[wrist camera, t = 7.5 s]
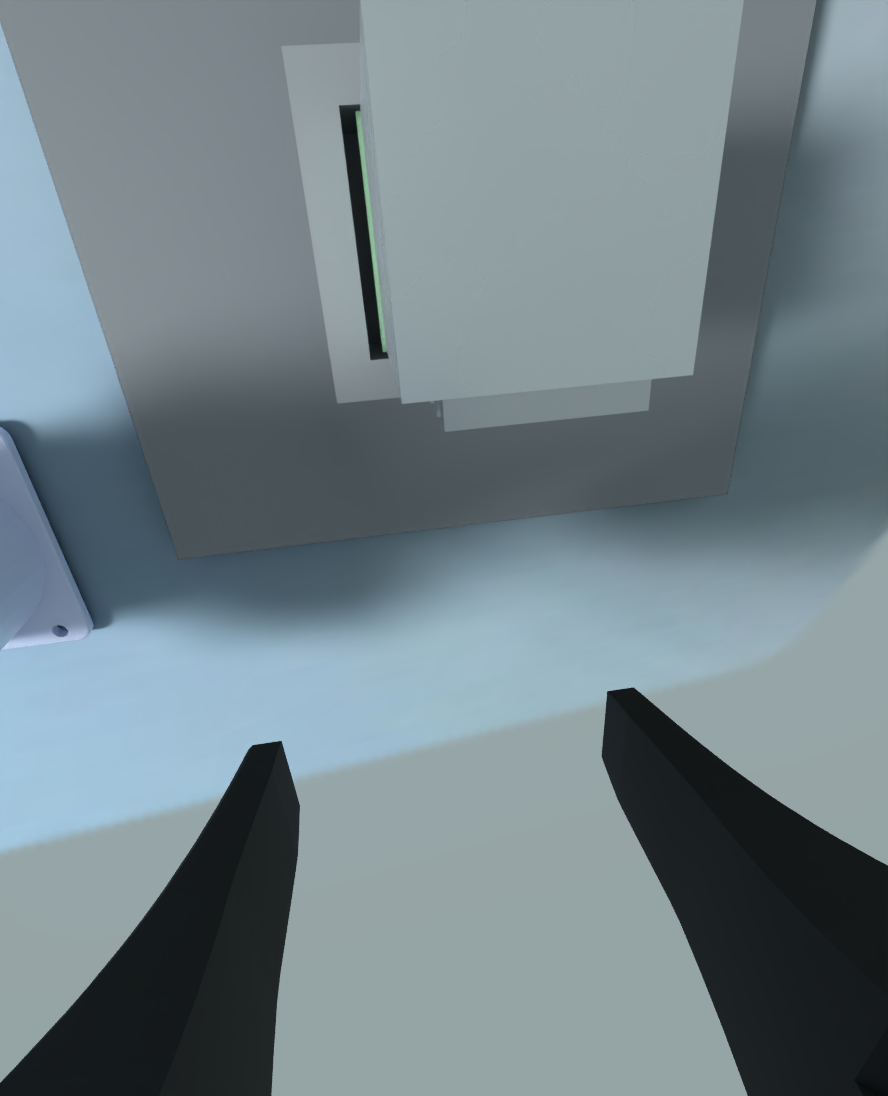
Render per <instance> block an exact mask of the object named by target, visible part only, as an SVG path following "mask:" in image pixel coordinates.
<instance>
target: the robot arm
mask: <svg viewBox="0 0 888 1096" xmlns="http://www.w3.org/2000/svg"><path fill="white" fill-rule="evenodd" d="M57 625H61V626H64V627H65V628H66V629H67V630H68V631H64V630H62V629H60V628H59V627H58V626H57ZM92 629H93V622H92V619H91V617H90V615H89V613H88V610H87V608H86V606H85V603H84V601H83V599H82V597H81V594H80V592H79V590H78V587H77V585H76V583H75V581H74V578H73V576H72V574H71V572H70V569H69V567H68V565H67V562H66V560H65V558H64V556H63V553H62V551H61V549H60V546H59V544H58V542H57V540H56V537H55V535H54V533H53V531H52V528H51V526H50V524H49V521H48V519H47V517H46V515H45V512H44V510H43V508H42V505H41V503H40V501H39V499H38V496H37V494H36V492H35V490H34V487H33V485H32V483H31V480H30V478H29V476H28V474H27V471H26V469H25V467H24V465H23V462H22V460H21V458H20V455H19V453H18V451H17V449H16V446H15V444H14V442H13V439H12V438H11V436H10V435H9V433H8V432H7V431H6V430H4V429H3V428H2V427H0V650H4V649H12V648H19V647H27V646H35V645H42V644H50V643H58V642H66V641H73V640H80V639H84V638H86V637H87V636H88V635H89V634H90V633H91V631H92ZM602 758H603V761H604V764H605V767H606V770H607V772H608V775H609V777H610V781H611V783H612V786H613V788H614V790H615V793H616V796H617V799H618V801H619V803H620V805H621V807H622V809H623V811H624V813H625V815H626V817H627V819H628V821H629V823H630V825H631V827H632V828H633V831H634V832H635V835H636V837H637V838H638V840H639V842H640V844H641V846H642V848H643V850H644V852H645V854H646V856H647V858H648V860H649V861H650V863H651V865H652V867H653V869H654V871H655V873H656V875H657V877H658V879H659V881H660V883H661V885H662V887H663V889H664V890H665V892H666V894H667V896H668V898H669V900H670V902H671V904H672V906H673V909H674V910H675V913H676V915H677V917H678V919H679V921H680V923H681V926H682V928H683V930H684V933H685V935H686V938H687V940H688V943H689V945H690V947H691V950H692V952H693V954H694V957H695V959H696V962H697V964H698V967H699V969H700V972H701V974H702V977H703V979H704V981H705V984H706V987H707V989H708V992H709V994H710V997H711V999H712V1002H713V1005H714V1007H715V1010H716V1012H717V1015H718V1017H719V1020H720V1022H721V1025H722V1027H723V1030H724V1033H725V1035H726V1038H727V1041H728V1043H729V1046H730V1048H731V1052H732V1054H733V1057H734V1059H735V1062H736V1065H737V1067H738V1070H739V1073H740V1075H741V1078H742V1081H743V1084H744V1086H745V1089H746V1092H747V1095H748V1096H888V865H886V864H884V863H882V862H880V861H878V860H876V859H874V858H873V857H871V856H869V855H867V854H865V853H864V852H862V851H860V850H858V849H856V848H855V847H853V846H851V845H849V844H848V843H846V842H844V841H842V840H840V839H838V838H837V837H835V836H833V835H832V834H830V833H828V832H827V831H825V830H823V829H822V828H820V827H818V826H816V825H815V824H813V823H812V822H810V821H809V820H807V819H805V818H804V817H802V816H801V815H799V814H798V813H796V812H795V811H793V810H791V809H790V808H788V807H787V806H785V805H783V804H782V803H780V802H779V801H777V800H776V799H775V798H773V797H772V796H770V795H768V794H767V793H765V792H764V791H763V790H761V789H760V788H759V787H757V786H756V785H754V784H753V783H752V782H750V781H749V780H747V779H746V778H745V777H743V776H742V775H741V774H739V773H738V772H736V771H735V770H734V769H732V768H731V767H730V766H729V765H727V764H726V763H725V762H723V761H722V760H721V759H719V758H718V757H717V756H715V755H714V754H713V753H712V752H711V751H709V750H708V749H707V748H706V747H704V746H703V745H701V744H700V743H699V742H698V741H697V740H695V739H694V738H693V737H692V736H691V735H689V734H688V733H687V732H686V731H684V730H683V729H682V728H681V727H680V726H679V725H677V724H676V723H675V722H674V721H673V720H671V719H670V718H669V717H668V716H667V715H665V714H664V713H663V712H662V711H661V710H660V709H659V708H657V707H656V706H655V705H654V704H653V703H651V702H650V701H649V700H648V699H647V698H646V697H644V696H643V695H642V694H641V693H640V692H638V691H637V690H636V689H635V688H634V687H633V688H627V689H620V690H614V691H607V702H606V714H605V725H604V736H603V747H602ZM299 813H300V805H299V801H298V798H297V794H296V791H295V787H294V783H293V780H292V776H291V773H290V769H289V766H288V762H287V759H286V755H285V752H284V748H283V745H282V741H278V742H271V743H265V744H258V745H252V746H251V748H250V749H249V750H248V752H247V753H246V755H245V757H244V759H243V761H242V763H241V765H240V767H239V769H238V770H237V772H236V774H235V776H234V778H233V780H232V781H231V783H230V785H229V787H228V789H227V790H226V792H225V794H224V796H223V797H222V799H221V801H220V803H219V804H218V806H217V808H216V809H215V811H214V813H213V814H212V816H211V818H210V819H209V821H208V823H207V824H206V826H205V827H204V829H203V831H202V832H201V834H200V836H199V837H198V839H197V841H196V842H195V844H194V845H193V847H192V848H191V850H190V851H189V853H188V855H187V856H186V858H185V859H184V860H183V862H182V863H181V865H180V866H179V868H178V869H177V871H176V872H175V874H174V875H173V877H172V878H171V880H170V881H169V883H168V884H167V886H166V887H165V889H164V890H163V892H162V893H161V894H160V896H159V897H158V898H157V900H156V901H155V903H154V904H153V906H152V907H151V908H150V910H149V911H148V912H147V914H146V915H145V916H144V918H143V919H142V920H141V922H140V923H139V924H138V926H137V927H136V928H135V929H134V931H133V932H132V933H131V935H130V936H129V937H128V939H127V940H126V941H125V942H124V944H123V945H122V946H121V947H120V949H119V950H118V951H117V952H116V954H115V955H114V956H113V957H112V958H111V960H110V961H109V962H108V963H107V965H106V966H105V967H104V968H103V969H102V971H101V972H100V973H99V974H98V976H97V977H96V978H95V979H94V980H93V982H92V983H91V984H90V985H89V987H88V988H87V989H86V990H85V991H84V992H83V993H82V994H81V996H80V997H79V998H78V999H77V1000H76V1002H75V1003H74V1004H73V1005H72V1006H71V1007H70V1008H69V1009H68V1011H67V1012H66V1013H65V1014H64V1015H63V1016H62V1017H61V1018H60V1019H59V1020H58V1021H57V1023H56V1024H55V1025H54V1026H53V1027H52V1028H51V1029H50V1030H49V1031H48V1032H47V1033H46V1034H45V1036H44V1037H43V1038H42V1039H41V1040H40V1041H39V1042H38V1043H37V1044H36V1045H35V1046H34V1048H33V1049H32V1050H31V1051H30V1052H29V1053H28V1054H27V1055H26V1056H25V1057H24V1059H22V1061H21V1062H20V1063H19V1064H18V1065H17V1066H16V1067H15V1068H14V1069H13V1070H12V1071H11V1072H10V1073H9V1074H8V1075H7V1076H6V1077H5V1078H4V1079H3V1081H2V1082H1V1083H0V1096H271V1090H272V1072H273V1054H274V1039H275V1025H276V1009H277V997H278V989H279V979H280V972H281V965H282V958H283V952H284V945H285V939H286V932H287V925H288V919H289V912H290V906H291V899H292V892H293V885H294V878H295V872H296V864H297V857H298V840H299Z"/></svg>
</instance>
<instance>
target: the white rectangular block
mask: <svg viewBox="0 0 888 1096" xmlns="http://www.w3.org/2000/svg"><path fill="white" fill-rule="evenodd" d="M743 3H744V0H360V111H356V124H357V133H358V142H359V150H360V159H361V168H362V177H363V185H364V194H365V203H366V212H367V220H368V229H369V238H370V247H371V256H372V264H373V273H374V282H375V291H376V299H377V308H378V317H379V326H380V334H381V343H382V350H383V352H387V354H388V357H389V361H390V364H391V368H392V371H393V374H394V378H395V381H396V385H397V388H398V392H399V395H400V399H401V402H402V404H407V403H417V402H427V401H430V403H434V410H435V413H436V415H437V417H441V425H442V427H443V429H444V431H445V432H448V431H458V430H467V429H477V428H486V427H496V426H506V425H515V424H525V423H534V422H544V421H553V420H563V419H573V418H582V417H592V416H601V415H611V414H620V413H630V412H639V411H648V410H649V400H650V390H651V380H652V379H658V378H668V377H678V376H688V375H693V371H694V364H695V357H696V349H697V342H698V335H699V327H700V320H701V312H702V305H703V298H704V290H705V283H706V276H707V268H708V261H709V253H710V246H711V239H712V231H713V224H714V217H715V209H716V202H717V194H718V187H719V180H720V172H721V165H722V158H723V150H724V143H725V135H726V128H727V121H728V113H729V106H730V99H731V91H732V84H733V77H734V69H735V62H736V54H737V47H738V40H739V32H740V25H741V18H742V10H743Z"/></svg>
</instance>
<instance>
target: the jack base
mask: <svg viewBox="0 0 888 1096" xmlns="http://www.w3.org/2000/svg"><path fill="white" fill-rule="evenodd" d="M816 1H817V0H744V3H743V10H742V18H741V25H740V32H739V40H738V47H737V54H736V62H735V69H734V77H733V84H732V91H731V99H730V106H729V113H728V121H727V128H726V135H725V143H724V150H723V158H722V165H721V172H720V180H719V187H718V194H717V202H716V209H715V217H714V224H713V231H712V239H711V246H710V253H709V261H708V268H707V276H706V283H705V290H704V298H703V305H702V312H701V320H700V327H699V335H698V342H697V349H696V357H695V364H694V371H693V375H688V376H678V377H668V378H658V379H652V380H651V390H650V400H649V410H648V411H639V412H630V413H620V414H611V415H601V416H592V417H582V418H573V419H563V420H553V421H544V422H534V423H525V424H515V425H506V426H496V427H486V428H477V429H467V430H458V431H448V432H445V431H444V429H443V427H442V425H441V417H437V415H436V413H435V410H434V403H430V401H427V402H417V403H407V404H402V402H401V399H400V395H399V392H398V388H397V385H396V381H395V378H394V374H393V371H392V368H391V364H390V361H389V357H388V354H387V352H383V350H382V343H381V334H380V326H379V317H378V308H377V299H376V291H375V282H374V273H373V264H372V256H371V247H370V238H369V229H368V220H367V212H366V203H365V194H364V185H363V177H362V168H361V159H360V150H359V142H358V133H357V124H356V111H360V0H0V23H1V26H2V29H3V32H4V35H5V38H6V41H7V44H8V47H9V50H10V53H11V56H12V59H13V62H14V65H15V68H16V71H17V74H18V77H19V80H20V83H21V86H22V89H23V92H24V95H25V98H26V101H27V104H28V107H29V110H30V113H31V116H32V119H33V122H34V125H35V128H36V131H37V134H38V137H39V140H40V143H41V147H42V150H43V153H44V156H45V159H46V162H47V165H48V168H49V171H50V174H51V177H52V180H53V183H54V186H55V189H56V192H57V195H58V198H59V201H60V204H61V207H62V210H63V213H64V216H65V219H66V222H67V225H68V228H69V231H70V234H71V237H72V240H73V243H74V246H75V249H76V252H77V255H78V258H79V261H80V264H81V267H82V270H83V273H84V276H85V279H86V282H87V285H88V288H89V291H90V294H91V297H92V300H93V303H94V306H95V309H96V313H97V316H98V319H99V322H100V325H101V328H102V331H103V334H104V337H105V340H106V343H107V346H108V349H109V352H110V355H111V358H112V361H113V364H114V367H115V370H116V373H117V376H118V379H119V382H120V385H121V388H122V391H123V394H124V397H125V400H126V403H127V406H128V409H129V412H130V415H131V418H132V421H133V424H134V427H135V430H136V433H137V436H138V439H139V442H140V445H141V448H142V451H143V454H144V457H145V460H146V463H147V466H148V469H149V472H150V475H151V479H152V482H153V485H154V488H155V491H156V494H157V497H158V500H159V503H160V506H161V509H162V512H163V515H164V518H165V521H166V524H167V527H168V530H169V533H170V536H171V539H172V542H173V545H174V548H175V551H176V554H177V557H178V560H179V559H187V558H196V557H204V556H213V555H221V554H229V553H238V552H246V551H254V550H263V549H271V548H280V547H288V546H296V545H305V544H313V543H321V542H330V541H338V540H347V539H355V538H363V537H372V536H380V535H388V534H397V533H405V532H414V531H422V530H430V529H439V528H447V527H455V526H464V525H472V524H481V523H489V522H497V521H506V520H514V519H523V518H531V517H539V516H548V515H556V514H564V513H573V512H581V511H590V510H598V509H606V508H615V507H623V506H631V505H640V504H648V503H657V502H665V501H673V500H682V499H690V498H698V497H707V496H715V495H724V494H727V493H728V487H729V482H730V476H731V471H732V465H733V460H734V454H735V448H736V443H737V437H738V432H739V426H740V421H741V415H742V410H743V404H744V399H745V393H746V388H747V382H748V377H749V371H750V366H751V360H752V354H753V349H754V343H755V338H756V332H757V327H758V321H759V316H760V310H761V305H762V299H763V294H764V288H765V283H766V277H767V272H768V266H769V260H770V255H771V249H772V244H773V238H774V233H775V227H776V222H777V216H778V211H779V205H780V200H781V194H782V189H783V183H784V178H785V172H786V166H787V161H788V155H789V150H790V144H791V139H792V133H793V128H794V122H795V117H796V111H797V106H798V100H799V95H800V89H801V84H802V78H803V73H804V67H805V61H806V56H807V50H808V45H809V39H810V34H811V28H812V23H813V17H814V12H815V6H816Z"/></svg>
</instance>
